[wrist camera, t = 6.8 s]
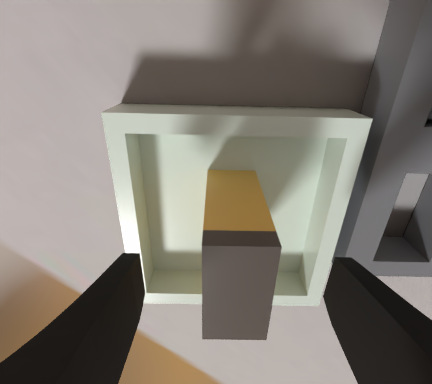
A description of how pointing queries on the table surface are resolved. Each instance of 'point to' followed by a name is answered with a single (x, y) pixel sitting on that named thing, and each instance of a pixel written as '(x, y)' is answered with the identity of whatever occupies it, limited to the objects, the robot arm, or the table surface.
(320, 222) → the parts tray
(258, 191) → the yellow rectangular block
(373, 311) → the robot arm
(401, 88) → the block
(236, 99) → the table surface
